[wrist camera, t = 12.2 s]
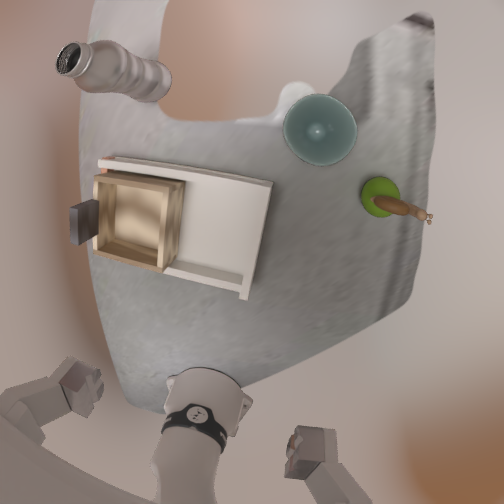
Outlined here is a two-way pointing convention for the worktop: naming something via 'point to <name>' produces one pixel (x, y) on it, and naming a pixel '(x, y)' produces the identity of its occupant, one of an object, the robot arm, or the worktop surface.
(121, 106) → the worktop surface
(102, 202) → the drawer
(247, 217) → the white tray
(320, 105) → the cup
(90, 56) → the plastic bottle
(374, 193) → the snail figurine
